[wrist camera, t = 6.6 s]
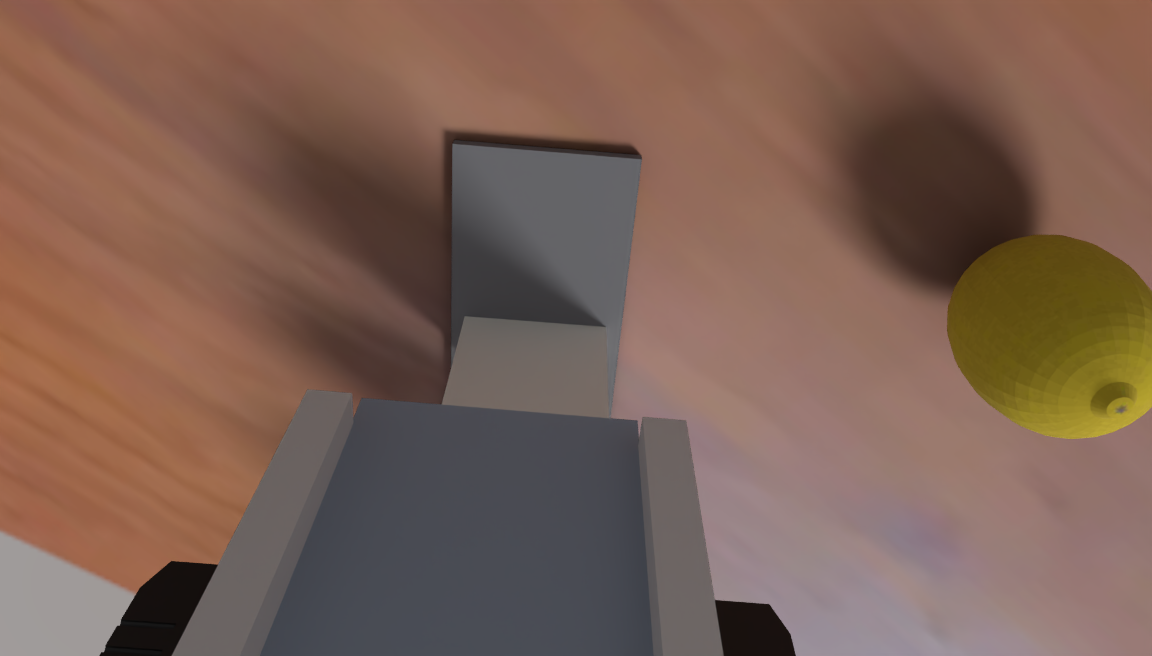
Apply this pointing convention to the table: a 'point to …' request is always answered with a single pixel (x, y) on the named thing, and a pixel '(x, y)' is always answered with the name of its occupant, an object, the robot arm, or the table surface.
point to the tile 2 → (530, 367)
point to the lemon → (1055, 335)
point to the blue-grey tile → (474, 539)
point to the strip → (542, 236)
